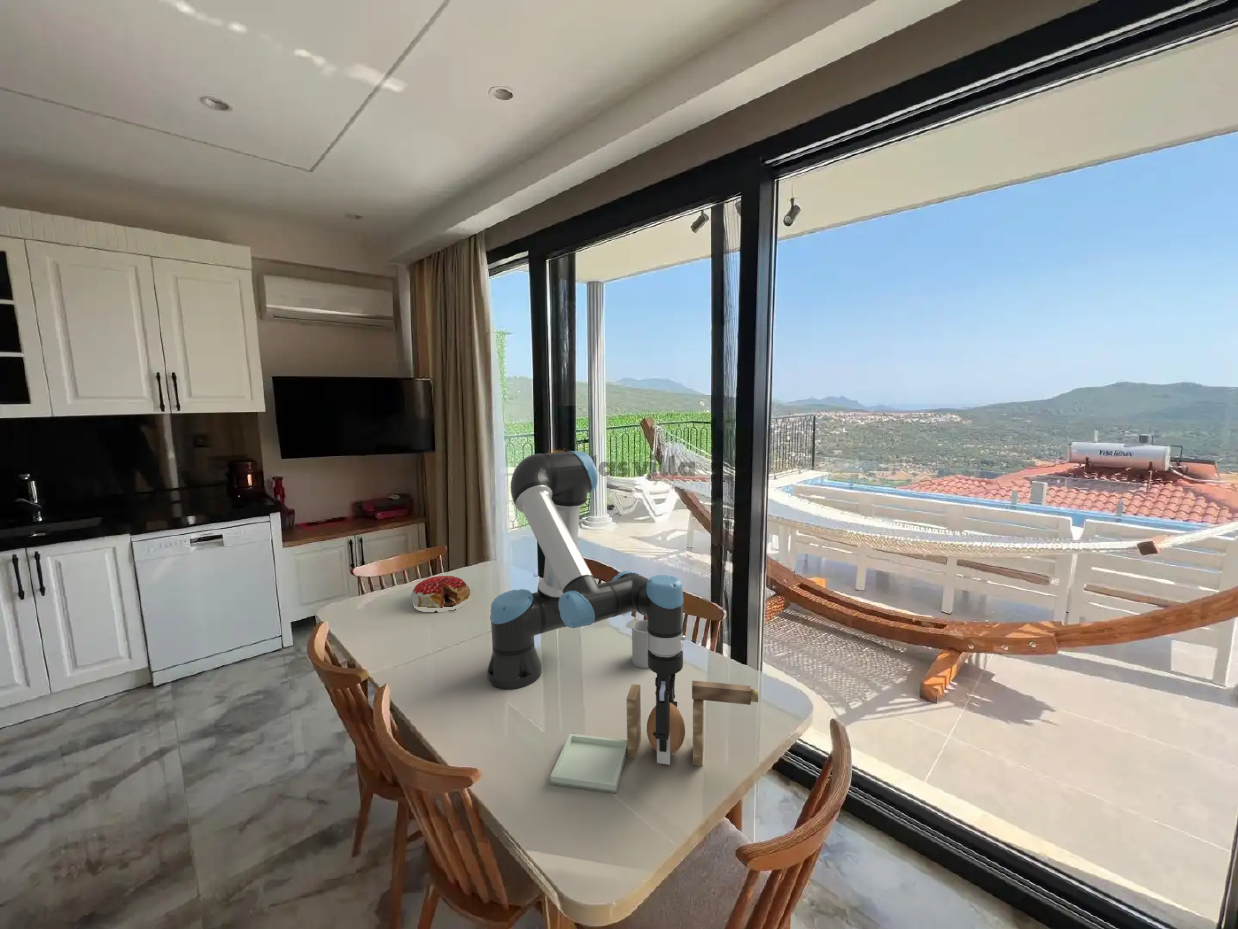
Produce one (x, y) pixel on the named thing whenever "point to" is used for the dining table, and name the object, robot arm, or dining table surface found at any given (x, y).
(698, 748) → the wooden post pair
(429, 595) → the cake
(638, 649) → the mug
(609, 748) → the dish
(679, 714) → the egg
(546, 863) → the dining table surface
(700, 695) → the wooden crossbeam
